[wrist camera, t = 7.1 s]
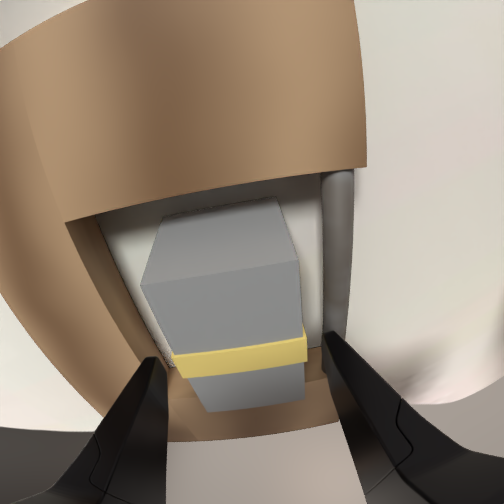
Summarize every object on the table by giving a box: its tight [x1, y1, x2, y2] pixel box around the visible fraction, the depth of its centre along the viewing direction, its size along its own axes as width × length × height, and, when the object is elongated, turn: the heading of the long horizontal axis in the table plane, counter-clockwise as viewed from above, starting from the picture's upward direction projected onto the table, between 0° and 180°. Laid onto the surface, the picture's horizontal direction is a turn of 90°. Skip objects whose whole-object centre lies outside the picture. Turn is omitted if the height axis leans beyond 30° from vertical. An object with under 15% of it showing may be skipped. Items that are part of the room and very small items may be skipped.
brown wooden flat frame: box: [0, 0, 367, 442], centre depth 12 cm, size 14×22×2 cm, turn 8°
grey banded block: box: [140, 197, 307, 412], centre depth 11 cm, size 4×7×4 cm, turn 8°
